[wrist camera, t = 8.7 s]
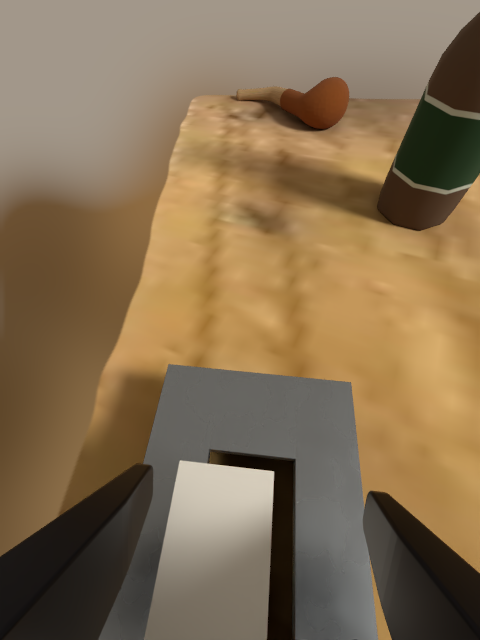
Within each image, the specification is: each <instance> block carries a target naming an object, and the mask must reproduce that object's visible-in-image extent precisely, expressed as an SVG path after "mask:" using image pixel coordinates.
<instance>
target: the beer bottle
mask: <svg viewBox="0 0 480 640" xmlns="http://www.w3.org/2000/svg"><path fill="white" fill-rule="evenodd" d="M479 174H480V12H479V13H478V14H477V15H476V16H475V17H474V18H473V19H472V20H471V21H470V22H469V23H468V24H467V25H466V26H465V27H464V28H463V29H461V31H460V32H459V34H458V35H457V36H456V37H455V39H454V40H453V41H452V43H451V44H450V45H449V47H448V48H447V49H446V51H445V52H444V53H443V54H442V56H441V58H440V60H439V62H438V64H437V66H436V68H435V70H434V72H433V74H432V76H431V78H430V80H429V82H428V84H427V86H426V89H425V91H424V93H423V96H422V98H421V100H420V102H419V105H418V107H417V109H416V111H415V114H414V116H413V118H412V120H411V123H410V125H409V127H408V129H407V132H406V134H405V136H404V139H403V141H402V143H401V145H400V148H399V150H398V152H397V154H396V157H395V159H394V161H393V163H392V166H391V168H390V170H389V173H388V175H387V177H386V180H385V182H384V185H383V188H382V190H381V193H380V198H379V202H378V206H377V208H378V210H379V211H380V212H381V213H382V214H383V215H384V216H385V217H386V218H387V219H388V220H389V221H390V222H392V223H393V224H394V225H398V226H403V227H407V228H411V229H415V230H419V231H421V230H424V229H427V228H430V227H433V226H436V225H439V224H441V223H443V222H444V221H445V220H446V219H447V217H448V216H449V215H450V214H451V213H452V211H453V210H454V209H455V207H456V206H457V205H458V203H459V202H460V200H461V199H462V198H463V196H464V195H465V193H466V192H467V191H468V189H469V188H470V186H471V185H472V184H473V182H474V181H475V179H476V178H477V177H478V175H479Z"/></svg>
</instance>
